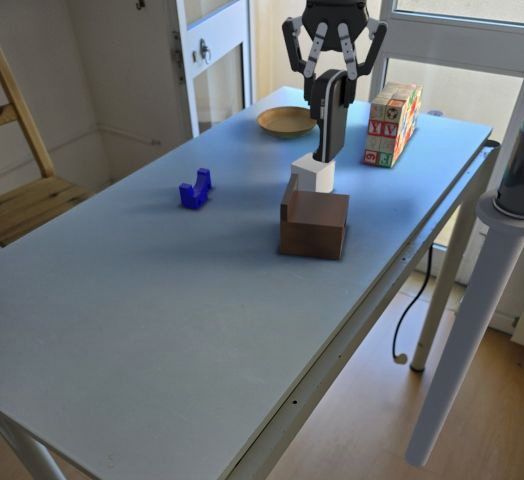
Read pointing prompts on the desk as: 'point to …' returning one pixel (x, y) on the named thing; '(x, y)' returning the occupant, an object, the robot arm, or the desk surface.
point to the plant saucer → (286, 121)
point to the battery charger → (329, 113)
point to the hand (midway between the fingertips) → (329, 104)
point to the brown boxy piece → (312, 222)
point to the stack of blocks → (391, 122)
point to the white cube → (314, 174)
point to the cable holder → (196, 190)
